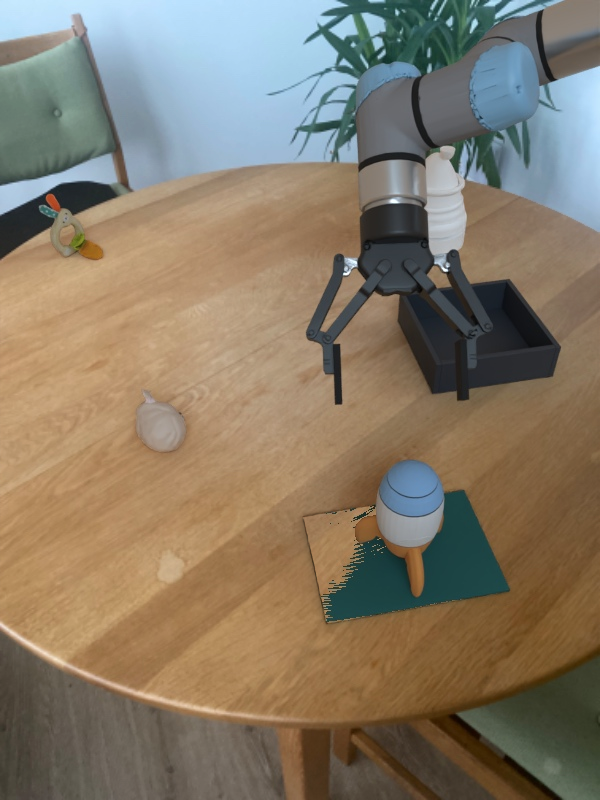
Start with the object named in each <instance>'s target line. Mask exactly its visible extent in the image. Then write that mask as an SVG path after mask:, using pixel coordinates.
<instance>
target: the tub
mask: <svg viewBox="0 0 600 800" xmlns="http://www.w3.org/2000/svg"><path fill="white" fill-rule="evenodd" d="M470 285H471V286H472V288H473V290H474V292H475V294H476V295H477V297H478V299H479V301H480V302H481V304H482V306H483V308H484V310H485V311H486V313H487V315H488V317H489V318H490V320H491V322H492V324H493V329H492V330H491V331H490V332H488V333H487V334H485V335H482V336H480V337H478V338H477V340H476V351H477V365H476V368H475V369H473V370H468V381H469V390H471V389H476V388H484V387H491V386H496V385H503V384H511V383H517V382H524V381H531V380H537V379H538V380H539V379H544V378H545V379H546V378H550V377H551V378H552V377H554V374H555V371H556V368H557V367H556V366H557V364H558V360H559V356H560V353H561V349H562V346H561V344H560V343H559V342H558V341H557V339H556V337H554V335H553V334H552V333H551V332H550V330H549V328H547V326H546V325H545V323H544V322H543V321H542V320H541V318H540V317H539V316H538V314H537V312H535V310H534V309H533V308H532V305H530V304H529V302H528V301H527V300H526V298H525V297H524V296H523V294H522V293H521V292H520V290H519V289H518V288H517V286H516V285H515V284H514V283H513V281H512V280H511V278H506V279H497V280H490V281H489V280H488V281H483V282H482V281H481V282H475V283H470ZM437 289H438V290H439V291H440V292H441V293H442V294H443V295H444V296H445V297H446V298H447V299H448V300H449V302H450V303H451V304H452V305H453V306H454V307H455V308H456V309H457V310H458V311H459V312H460V313H461V314H462V316H463V317H464V318H465V319H466V320H467V321H468V322H469V323H470V324H471V325H472V326H474V325H473V324H472V322H471V320H470V318H469V316H468V315H467V313H466V311H465V309H464V307H463V306H462V304H461V302H460V300H459V299H458V297H457V295H456V293H455V291H454V290H453V288H452V286H451V285H450V286H444V287H437ZM398 296H399V297H398V309H397V310H398V311H397V323H398V325H399V327H400V329H401V332H402V334H403V336H404V338H405V340H406V342H407V344H408V346H409V348H410V350H411V353H412V355H413V356H414V358H415V361H416V363H417V365H418V367H419V369H420V371H421V373H422V375H423V378H424V379H425V381H426V383H427V385H428V387H429V389H430V391H431V393H432V395H436V394H443V393H449V392H457V387H456V364H455V342H457V341H458V340H460V339H461V338H460V337H459V336H458V335H457V333H456V332H455V331H454V330H453V329H452V328H451V327H450V326H449V325H448V324H447V323H446V322H445V321H444V319H443V318H442V317H441V316H440V315H439V314H438V313H437V312H436V311H435V310H434V309H433V308H432V307H431V305H430V304H429V303H428V302H427V301H426V300H425V299H423V298H422V297H421V296H420V295H419V294H418V293H417V292H416V291H415V292H414V293H412V294H410V295H409V296H401V295H398Z"/></svg>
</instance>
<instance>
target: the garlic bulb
mask: <svg viewBox="0 0 600 800" xmlns="http://www.w3.org/2000/svg"><path fill="white" fill-rule="evenodd" d="M140 391H141V393H142V395H143V397H144V399H145V400H144V401H143V402H141V403H140V404H139V405H138V406H137V408H136V409H135V410H136V411H135V415H136V417H135V432H136V435H137V436H138V438H139V440H140V441H141V442H142V443H143V445H145V446H146V447H147V448H149V449H151V450H152V451H155V452H158V453H168V452H169V453H170V452H173V451H176V450H177V449H178V448H179V447H180V446H182V444H183V443H184V441H185V439H186V436H187V435H186V434H187V426H186V422H185V417H184V415H182V412H181V411H178V409H177V408H176V407H175V406H174V405H173V404H171V403H169V402H165V401H160V400H156V399H155V398H154V397H153V396H152V394H151V393H152V392H151V391H152V390H148V389H144V388H141V390H140Z"/></svg>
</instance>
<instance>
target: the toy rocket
mask: <svg viewBox="0 0 600 800" xmlns="http://www.w3.org/2000/svg"><path fill="white" fill-rule="evenodd" d="M444 491H445V490H444V487H443V484H442V481H441V479H440V477H439V475H438V473H436V471H435V470H434V469H433V468H432V466H430V465H429V464H428V463H426V462H424V461H421V460H419V459H403V460H400V461H398V462H395V464H393V465H392V466H391V467H390V468H389V469H388V470H387V472H386V473H385V474H384V475H383V477H382V478H381V481H380V483H379V486H378V489H377V494H376V499H375V504H376V515H373V516H367V517H364V518H362V519H361V520H360V521H359V522H358V523H357V524H356V526H355V537H356V539H357V541H358V542H359V543H360V544H361V543H364V542H367V541H370V540H373V539H374V538H375V537H376V536H378V537H380V538H381V539H383V540H384V542H385V545H386V546H387V548H388V549H389V550H390V551H391V552H392V553H393V554H394V555H395V556H397V557H398V558H400V559H404V560H405V561H406V563H407V570H408V575H409V579H410V584H411V591H412V594H413V595H414V596H415V597H419V596H420V595H421V593H422V590H423V586H424V568H423V561H422V555H421V554H422V553H423V552H424V551H425V550H426V548H427V547H428V546H429V544H430V543H431V541H432V540H433V538H434V537H435V535H436V533H439V532H440V530H441V528H442V524H443V519H444V515H443V509H444V493H445V492H444Z"/></svg>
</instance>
